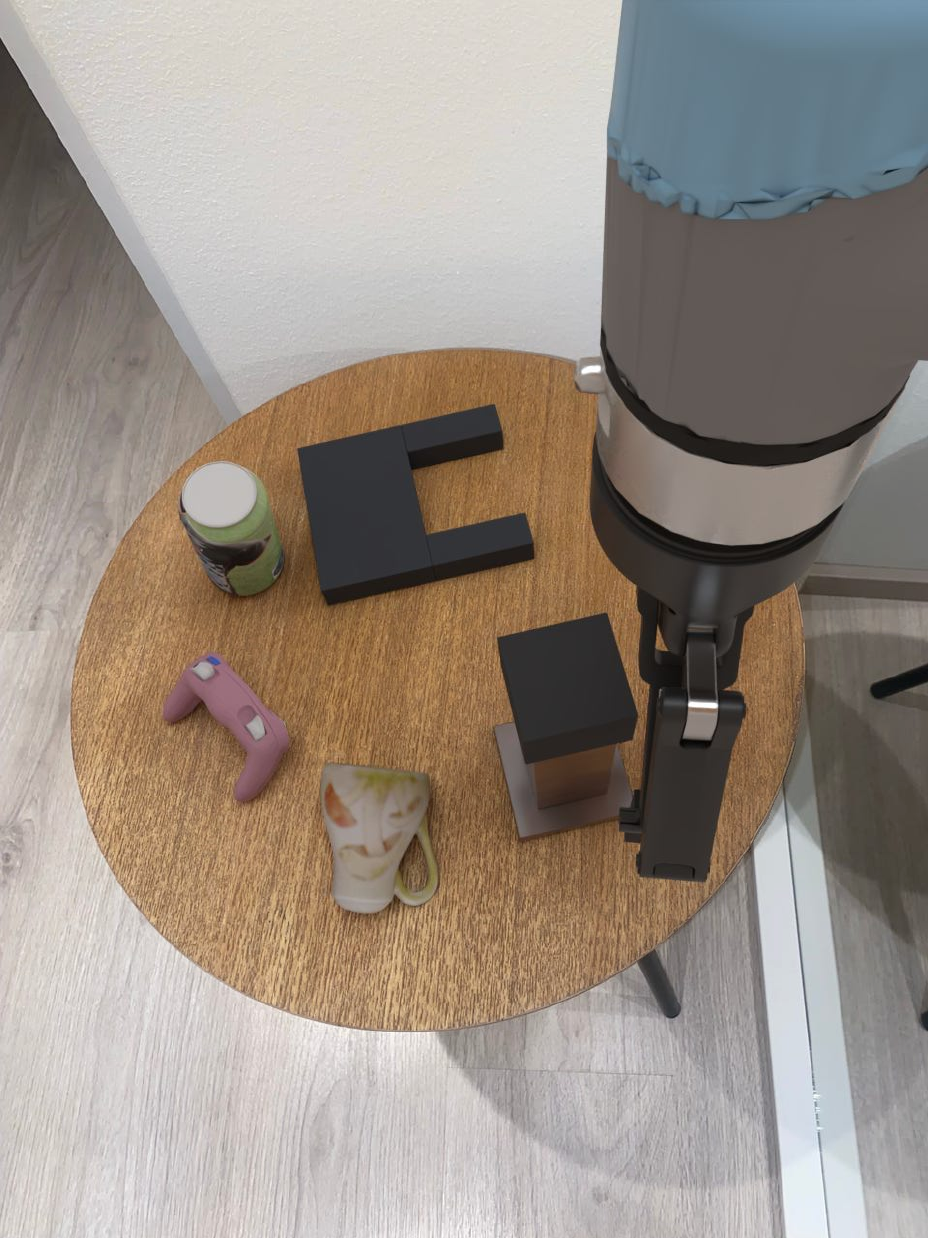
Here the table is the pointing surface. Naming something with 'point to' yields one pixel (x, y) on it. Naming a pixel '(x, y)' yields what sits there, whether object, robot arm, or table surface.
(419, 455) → the base pad
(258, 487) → the beverage can
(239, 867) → the table surface
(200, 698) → the video game controller
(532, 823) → the stand
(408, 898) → the mug
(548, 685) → the black square block
